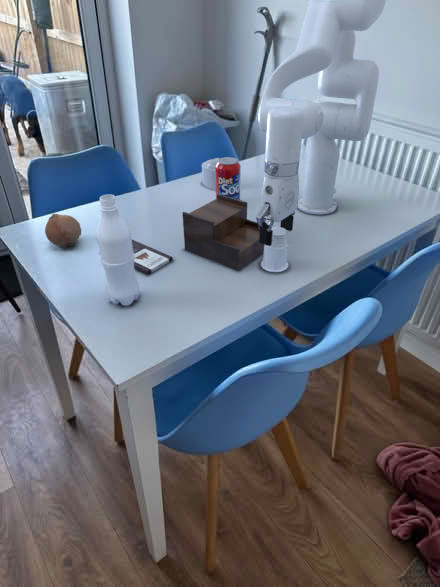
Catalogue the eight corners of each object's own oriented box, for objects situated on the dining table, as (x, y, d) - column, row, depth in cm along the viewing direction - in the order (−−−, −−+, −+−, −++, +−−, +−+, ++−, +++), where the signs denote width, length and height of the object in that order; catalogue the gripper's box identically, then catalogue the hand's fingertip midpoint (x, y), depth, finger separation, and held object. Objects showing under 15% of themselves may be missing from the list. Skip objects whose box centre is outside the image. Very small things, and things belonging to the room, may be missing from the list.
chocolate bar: (126, 237, 120) (172, 256, 111) (127, 240, 121) (172, 260, 112) (101, 249, 115) (147, 271, 105) (101, 252, 115) (147, 274, 106)
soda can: (227, 198, 144) (227, 154, 136) (244, 205, 140) (245, 160, 131) (211, 205, 140) (210, 160, 131) (228, 212, 135) (228, 166, 127)
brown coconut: (58, 251, 122) (39, 219, 119) (88, 237, 124) (70, 205, 121) (54, 256, 114) (35, 222, 110) (87, 241, 115) (68, 206, 112)
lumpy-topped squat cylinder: (220, 176, 161) (220, 153, 156) (243, 186, 153) (243, 162, 148) (198, 183, 156) (197, 159, 151) (220, 193, 148) (220, 169, 143)
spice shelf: (218, 229, 126) (218, 193, 119) (270, 247, 117) (272, 209, 110) (184, 250, 116) (182, 212, 110) (238, 271, 107) (238, 231, 101)
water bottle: (111, 291, 101) (91, 191, 86) (141, 289, 101) (127, 189, 87) (107, 309, 95) (85, 205, 80) (139, 307, 95) (123, 203, 81)
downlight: (289, 274, 106) (293, 238, 100) (261, 274, 106) (263, 238, 100) (286, 257, 112) (289, 223, 106) (259, 257, 112) (261, 223, 107)
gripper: (275, 182, 86) (270, 255, 96) (314, 160, 98) (306, 228, 107) (245, 174, 90) (243, 245, 100) (286, 154, 102) (280, 220, 111)
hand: (276, 236), depth 104 cm, fingers open, 9 cm apart
